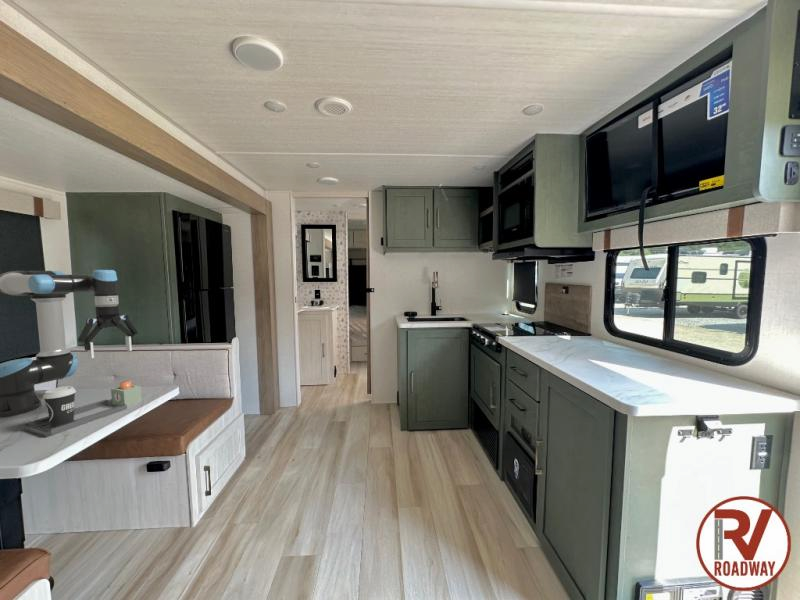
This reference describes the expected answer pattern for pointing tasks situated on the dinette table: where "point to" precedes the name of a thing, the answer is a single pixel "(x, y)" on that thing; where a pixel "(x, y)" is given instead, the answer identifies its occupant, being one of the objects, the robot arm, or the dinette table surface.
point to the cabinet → (126, 395)
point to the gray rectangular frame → (35, 425)
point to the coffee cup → (60, 405)
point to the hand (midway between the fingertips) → (110, 354)
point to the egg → (125, 385)
